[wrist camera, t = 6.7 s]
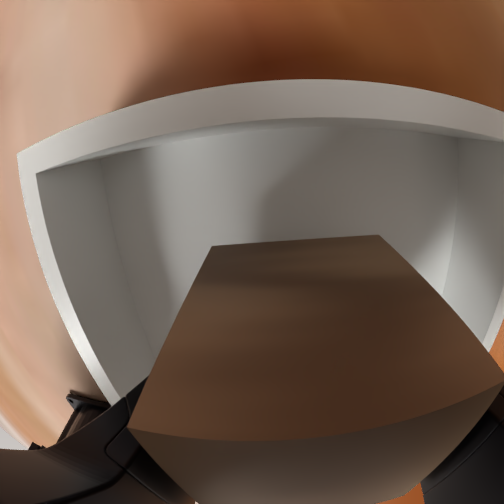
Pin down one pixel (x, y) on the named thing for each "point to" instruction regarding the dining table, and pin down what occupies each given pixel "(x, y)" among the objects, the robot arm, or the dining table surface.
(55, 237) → the bin
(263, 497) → the walnut block
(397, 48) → the dining table surface
